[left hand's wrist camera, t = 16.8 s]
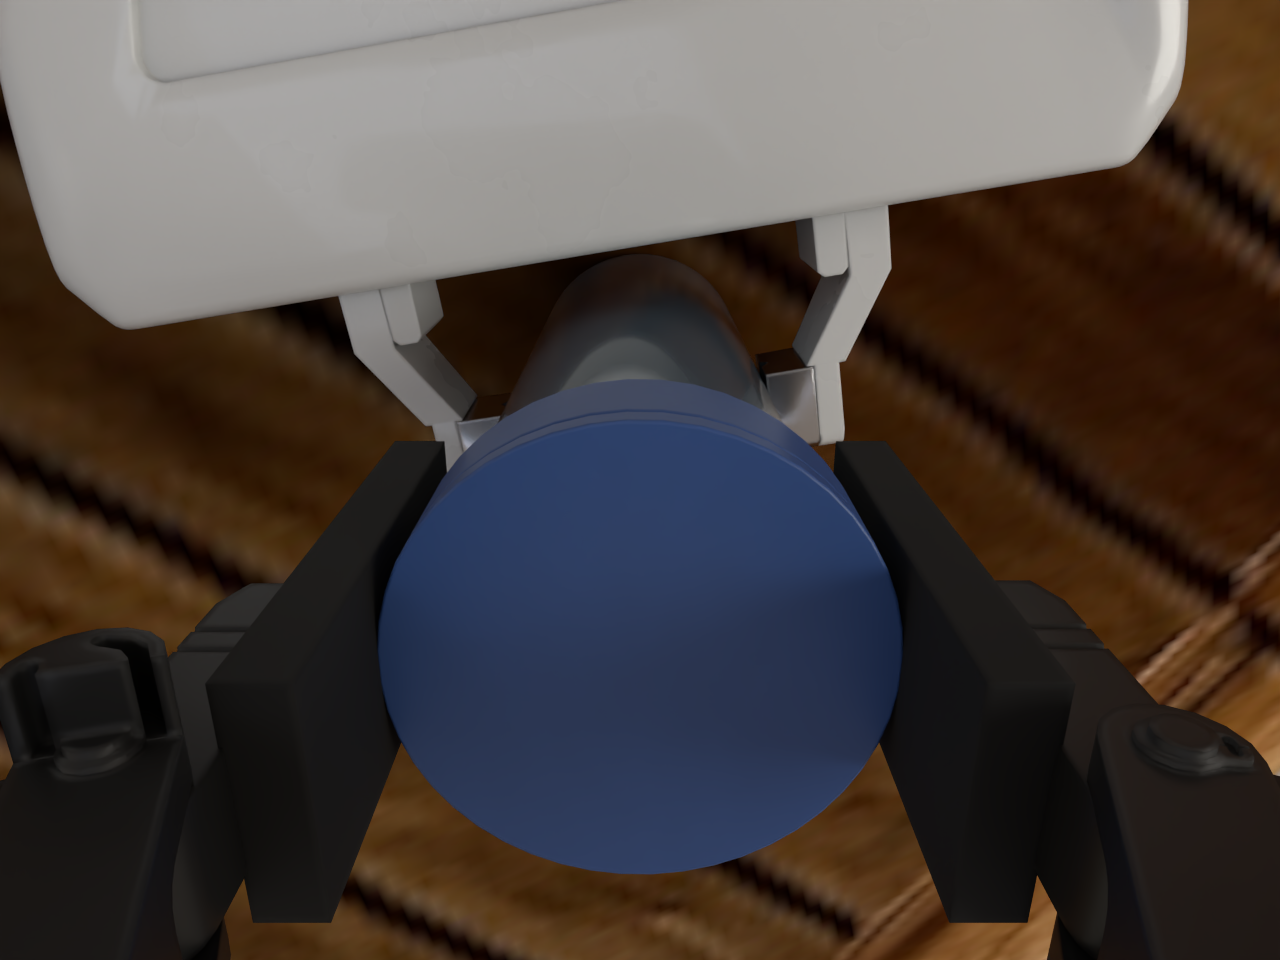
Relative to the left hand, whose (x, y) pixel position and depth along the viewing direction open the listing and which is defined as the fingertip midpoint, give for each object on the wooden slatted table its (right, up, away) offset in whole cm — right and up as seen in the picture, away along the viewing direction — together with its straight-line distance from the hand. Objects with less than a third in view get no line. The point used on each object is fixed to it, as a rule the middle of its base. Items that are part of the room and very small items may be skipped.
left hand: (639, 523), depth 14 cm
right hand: (0, +1, +5) cm, 5 cm away
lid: (0, -1, -4) cm, 4 cm away
